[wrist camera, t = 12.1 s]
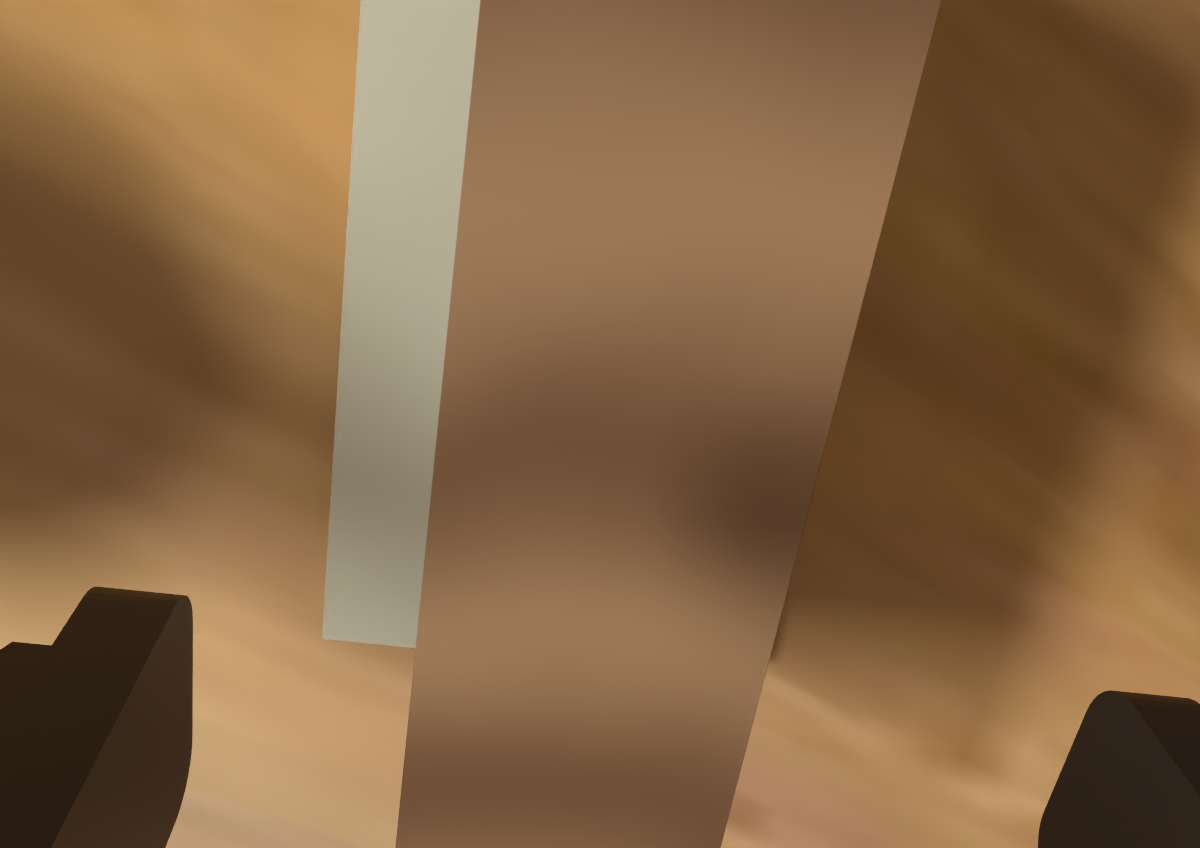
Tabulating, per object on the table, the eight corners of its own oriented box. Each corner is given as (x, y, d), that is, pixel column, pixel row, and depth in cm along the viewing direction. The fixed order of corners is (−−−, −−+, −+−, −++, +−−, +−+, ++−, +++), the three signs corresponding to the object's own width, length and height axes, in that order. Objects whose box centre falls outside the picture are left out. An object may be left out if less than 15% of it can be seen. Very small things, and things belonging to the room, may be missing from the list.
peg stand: (331, 609, 27) (285, 755, 23) (392, -361, 19) (341, -445, 15) (729, 650, 28) (765, 799, 24) (951, -254, 20) (1073, -302, 16)
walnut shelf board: (518, -226, 16) (507, -270, 12) (878, -162, 16) (989, -182, 12) (422, 693, 22) (393, 871, 18) (679, 718, 23) (707, 895, 19)
